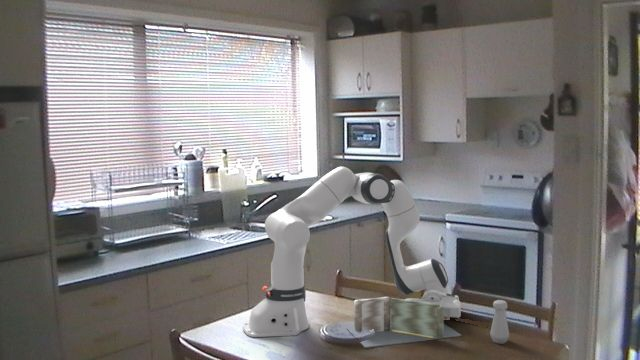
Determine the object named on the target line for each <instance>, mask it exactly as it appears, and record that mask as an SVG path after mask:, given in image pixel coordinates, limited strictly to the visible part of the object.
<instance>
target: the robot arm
mask: <svg viewBox="0 0 640 360" xmlns="http://www.w3.org/2000/svg"><path fill="white" fill-rule="evenodd" d="M348 198H350V199H352V200H353V201H355V202H357V203H362V204H365V205H381V206H382V207H383V210H384V212H385V214H386V217H387V221H388V227H387V228H386V230H385V242H386V247H387V252H388V255H389V260H390V264H391V268H392V273H393V278H394V284H395V287H396V290H397V291H398V292H399V293H401V294H403V295H405V296H410V295H413V294H415V293H417V292H420V291H423V290H425V291H424V293H423V295H422V296H421V298H415V297H408V298H405V300H411V301H418V302H425V303H432V304H439V305H440V306H443V307H444V317H445V318H446V317H447V318H460V317H461V315H462V314H461V311H462V305H461V301H460V299H459V295H457V294H456V295H455V294H451V289H450V287H449V283H448V282H449V278H448V274H447V271H446V269H445V267H444V265H443V263H441V262H440V261H438V260H437V259H435V258H430V259H426V260H424V261H423V260H422V261H420V262H417V263H415V264H412V265H408V266H407V265H405V264H404V260H403V256H402V251H401V247H400V246H401V243H402V241H404V239H406V238H407V237H408V236H409V235H411V234H412V233H413V232H414V231H415V230H416V229H417V227H418V225H419V223H420V218H421V217H420V211H419V209H418V206H417V204H416V202H415V199H414V198H413V196H412V194H411V192H410V191H409V188H408V187H407V186H406V183H404V182H403V181H402V180H399V179H391V180H389V179H388V178H387V177H386V176H384V175H383V174H380V173H377V172H375V173H374V172H369V171H366V172H357V173H354V172H353V171H352V170H351V169H350V168H348V167H346V166H338V167H336V168H334V169H331V171H329V172H327V173H326V174H325V175H323V176H321V178H320V179H318V180H317V181H316V182H315V183H313V185H312V186H310V187H309V188H308V189H307V190H306V191H304V192H303V193H302V194H301V195H300V196H298V197H296V198H295V199H294V200H292V201H290V202H288V203H287V204H285V205H284V206H282V207H281V208H280V209H278V210H277V211H275V212H272V213H271V214H270V215H268V217H266V219H265V221H264V231H265V232H266V233H265V234H266V235H267V237H268V238H269V239H270V240H271V241H273V242H274V249H273V250H274V252H273V257H272V260H271V262H270V283H271V284H270V286H269V287H268V286H266V285H264V286H263V287H262V289H261V290H262V291H263V293H265V298H263V299H262V300H261V301H260V302H258V304H257V305H255V306H254V307H253V308H252V309H251V311H250V314H249V320H248V321H245V322H244V323H243V325H242V329H243V332H244V334H246V336H249V337H251V338H264V337H285V336H288V337H289V336H297V335H299V334H301V332H303V331H305V330H307V329H309V328H310V323H309V320H308V319H309V318H308V315H307V310H306V304H305V302H306V297H307V296H306V286H305V284H304V281H305V279H304V276H305V275H304V271H305V269H304V266H305V255H306V249H307V245H308V243H309V241H310V239H311V232H310V228H309V227H311V226H312V225H314V224H315V223H316V224H317V223H318V222H320V221H323V220H324V219H325V218H326V217H328V215H329V214H330V213H332V212H333V211H334V210H335V209H336V208H337V207H338V206H340V204H342V203H343V202H344V201H345V200H346V199H348Z"/></svg>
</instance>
